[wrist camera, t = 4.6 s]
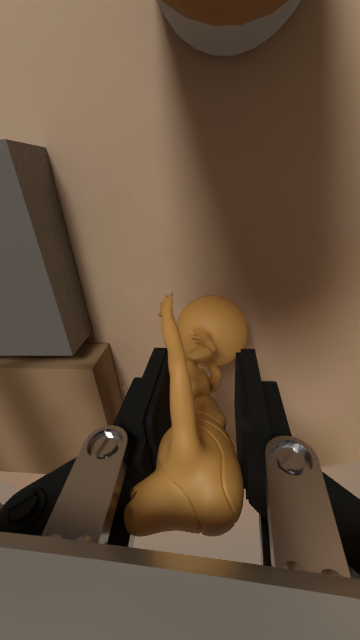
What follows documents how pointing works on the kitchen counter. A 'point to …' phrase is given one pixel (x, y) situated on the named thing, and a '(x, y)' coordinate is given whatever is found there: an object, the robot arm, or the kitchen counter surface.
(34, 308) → the grey metal stand
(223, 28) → the coffee cup
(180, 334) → the figurine
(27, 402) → the walnut stand
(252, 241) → the kitchen counter surface
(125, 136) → the kitchen counter surface
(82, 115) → the kitchen counter surface
